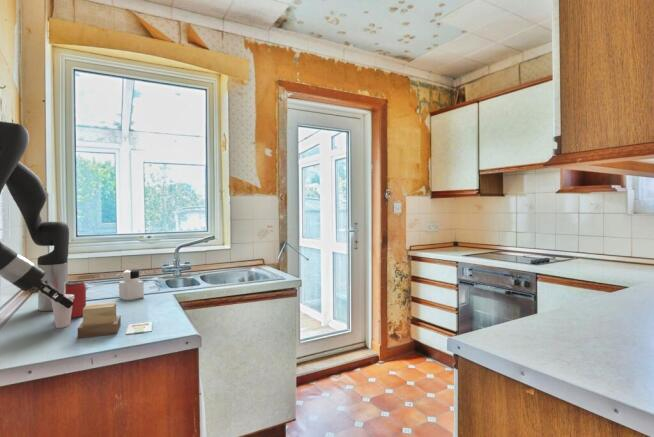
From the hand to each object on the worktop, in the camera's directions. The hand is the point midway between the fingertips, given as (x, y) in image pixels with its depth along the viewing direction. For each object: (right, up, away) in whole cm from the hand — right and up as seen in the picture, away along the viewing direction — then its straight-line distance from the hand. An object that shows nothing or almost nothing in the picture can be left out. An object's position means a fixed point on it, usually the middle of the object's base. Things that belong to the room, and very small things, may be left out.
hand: (68, 304), depth 119 cm
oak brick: (+14, -4, -6) cm, 16 cm away
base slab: (+14, -7, -6) cm, 17 cm away
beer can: (-5, -7, +10) cm, 13 cm away
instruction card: (+25, -7, -4) cm, 26 cm away
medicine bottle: (0, -6, +38) cm, 38 cm away
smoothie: (-1, -7, -1) cm, 7 cm away
